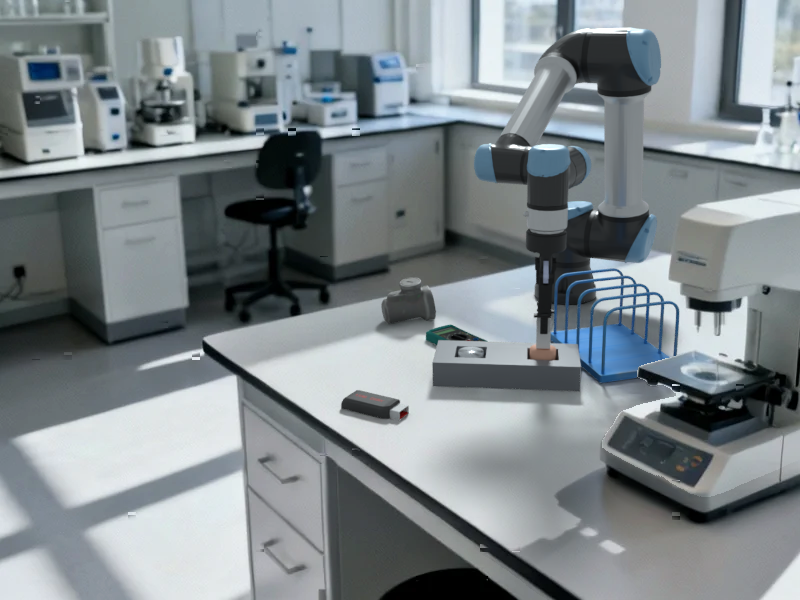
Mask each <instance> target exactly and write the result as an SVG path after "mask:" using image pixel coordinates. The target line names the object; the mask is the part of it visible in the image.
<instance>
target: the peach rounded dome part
mask: <svg viewBox="0 0 800 600" xmlns="http://www.w3.org/2000/svg"><path fill="white" fill-rule="evenodd" d="M530 360H556V348H555V347H554V346H552V345H550V349H536V344H535V345H532V346H531V347H530Z"/></svg>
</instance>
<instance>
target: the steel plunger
mask: <svg viewBox="0 0 800 600" xmlns="http://www.w3.org/2000/svg"><path fill="white" fill-rule="evenodd" d="M458 357H464V358H484V351H483V349H481V348H478V347H463V348H461V349H459V350H458Z"/></svg>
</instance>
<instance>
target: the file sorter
mask: <svg viewBox="0 0 800 600" xmlns="http://www.w3.org/2000/svg"><path fill="white" fill-rule="evenodd" d="M606 272H608V273H609V272H617V273H618V274H619V275H620V276H619V275H618V276H607V277H606V276H605V277H599V278H593V279H588V280H580V281H576V282H574V283H572V284H571V285H570V286H569V287H568V289H567V292H566V304H565V311H564V312H565V313H564V314H565V315H564V330H558V331H557V327H558V326H557V324H558V323H557V322H558V320H557V319H558V317H557V316H558V304H557V290H558V284H559V282H560V280H561V279H562V278H564V277H566V276H572V275H580V274H589V273H592V274H598V273H606ZM626 279H628V280H630V281H631V282H632V283H628V284H625V280H626ZM613 280H620V285H613V286H603V287H596V288H594V289H588V290H586V291H584V292H583V293H582V294H581V295H580V297H579V299H578V304H577V305H576V306H577V308H576V310H577V312H576V314H577V315H576V328H572V329H569V310H570V309H569V307H570V306H569V305H570V304H569V292H570V290H571V288H572V287H573V286H575V285H576V284H580V283H588V282H594V283H595V282H605V281H613ZM639 287H641V288H643V289H644V290H645V291H646V292H639V293H637V290H638V288H639ZM628 288H633V293H628V294H624V290H625V289H628ZM618 289H619V290H620V295H615V296H614V295H612V296H608V297H607V296H606V297H600V298H598V299H597V300H596V301H594V302H593V304H592V306H591V309H590V311H589V312H590V313H589V326H588V327H580V326H581V305H582V303H581V300H582V298H583V297H584V295H586V294H587V293H589V292H595V291H596V292H603V291H610V290H618ZM651 296H657V297H659V300H660V301H654V302H650V301H651ZM638 297H646V303H639V304H637V298H638ZM630 298H632V299H633V300H632V304H630V305H624V306H623V304H624V303H623V302H624V299H630ZM664 299H665V298H664V296H663V295H662V294H661V293H659V292H657V291H650V289H649V287H648V286H647V285H646V284H642V283H637V282H636V280H635V279H634V278H633V276H630V275H624V274H623V272H622V271H621V270H620V269H618V268H612V267H611V268H601V269H593V270H592V269H591V270H590V271H581V272H573V273H565V274H563V275H561V276H560V277H559V278H558V279H557V281H556V283H555V295H554V303H553V309H554V314H553V331H551V339H550V342H552V343H557V344H578V348H579V356H580V364H581V368H582V369H583V370H585V371H586V372H587V373H588V374H589V375H591V376H592V377H593V378H594V380H596V381H598V383H600V384H604V383H605V384H606V383H610V382H619V381H624V380H632V379H637V378H636V377H637V370H638V367H639V366H641V365H644V364H647V363H651V362H655V361H658V360H662V359H665V358H669V357H670V355H668V354H667V353H665V352H663V351H662V347H663V346H662V345H663V333H664V331H663V329H664V317H665V316H664V314H665V305H672V306H674V308H675V326H674V328H675V329H674V340H673V341H674V342H673V355H672V356H676V355H677V356H678V344H679V343H678V341H679V331H680V330H679V328H680V327H679V325H680V308H679V305H678V304H677V303H676V302H674V301H671V300H664ZM611 300H619V306H616V307H613V308H611V309H609V311H607V313H605V316H604V318H603V322H602V323H603V325H597V326H594V312H595V308H596V307H597V305H598V304H599V303H601V302H604V301H611ZM652 306H660V315H659V317H660V318H659V331H658V336H659V337H658V346H657V347H656V346H655V345H653V344H652V343H650V342H649V341H648V336H649V335H648V334H649V322H650V321H649V318H650V307H652ZM637 308H646V309H645V324H644V336H643V337H644V338H643V337H642V336H641V335H639V334H638V333H636V332H635V324H636V322H635V321H636V309H637ZM630 309H632V315H631V316H632V317H631V327H630V328H631V329H630V328H629V327H628V326H626V325H625V324H624V323H623V321H622V320H623V310H630ZM616 311H619V312H618V323H614V324H608V323H607V322H608V319H609V317H610V315H611V314H613V313H614V312H616Z"/></svg>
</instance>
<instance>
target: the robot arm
mask: <svg viewBox="0 0 800 600" xmlns="http://www.w3.org/2000/svg"><path fill="white" fill-rule="evenodd" d="M661 68H662V55H661V47H660V43H659V40H658V37H657V36H656V34H655V32H653V31H652V30H650V29H648V28H635V27H613V28H612V27H610V28H607V27H606V28H604V27H603V28H591V27H590V28H589V27H587V28H580V29H577V30H576V29H575V31H571V32H570V33H567V34H565V35H564V36H561V38H559V39H557V40H556V41H555V42H554V43H552V44H550V46H549V47H547V49H546V50H545V51H544V52H543V53H542V55H541V56H540V57H539V59H538V61H537V62H536V64H535V66H534V69H533V70H534V71H533V75H534V77H533V79H532V80H531V82H530V84H528V87H527V88H526V90H525V92H524V94H523V95H522V98H521V99H520V101H519V103H518V104H517V106H516V108H515V109H514V111H513V113H512V115H511V116H510V118H509V120H508V121H507V123H506V125H505V126H504V128H503V130H502V131H501V134H500V136H499V137H498V138H497V140H496V142H495V143H492V142H490V143H484V144H481V145H479V146H478V148H477V149H476V151H475V154H474V159H473V169H474V171H475V172H474V174H475V175H476V176H475V177H477V179H478V180H480V181H481V182H488V183H495V184H504V185H505V184H507V185H522V186H526V189H527V190H526V191H527V193H526V194H527V195H526V196H527V197H526V206H527V207H526V210H527V211H523V214H522V215H523V217H526V227H527V228H528V229H527V230H526V232H525V248H526V250H527V251H529V252H531V253H534V254H535V253H536V254H539V256H537V257H534V270H535V284H534V292H533V293H534V297H536V298H537V303H536V306H537V309H536V312H537V313H536V312H535V313H533V318H534V319H535V318H536V333H535V334H536V336H535V340H536V341H535V343H536V349H550V343H551V340H550V339H551V332H552V330H551V329H552V315H554V308H553V309H552V304H554V295H555V283H556V281H557V279H558V278H559V277H560V276H561V275H563V274H565V273H573V272H581V271H590V270H592V269H591V259H596V260H605V261H613V262H621V263H624V264H627V263H631V264H632V263H633V264H635V263H636V264H640V263H643V262H644V261H646V260H647V258H648V257H649V255H650V253H651V250H652V248H653V245H654V241H655V237H656V233H657V226H658V220H657V218H658V217H657V216H656V215H655V214H653V213H651V214H650V205H649V204H648V202H646V201H645V200H644V199H643V184H644V183H643V181H644V180H643V178H644V173H643V172H644V132H645V131H644V127H645V126H644V125H645V124H644V121H645V98H646V97H647V96H648V95H649V94H651V92H652V86H654V85H656V84H657V83H658V82H659V80H660V76H661ZM584 83H587V84H596V86H597V91H596V93H597V95H598V96H599V97H600V98H601V99H602V100H603V103H604V105H603V106H604V108H603V111H604V113H603V116H604V117H603V118H604V120H603V121H604V124H603V125H604V127H603V128H604V132H603V133H604V136H603V137H604V139H603V140H604V142H603V143H604V199H603V201H602V202H601V203H599V204H598V206H597V209H594V205H593V203H592V202H591V201H585V200H584V201H582V200H576V201H569V190H570V189H573V188H574V187H577V186H578V185H581V184H582V183H583V181H584V180H586V179H587V178H588V177H589V175H590V173H591V169H592V160H591V157H590V155H589V153H588V152H587V151H586V150H585V149H584V148H582V147H580V146H577V145H570V146H569V145H568V146H567V145H566V146H565V145H563V144H557V143H556V144H555V143H546V144H545V143H543V144H538V143H539V142H540V140H541V138H542V136H543V134H544V132H545V131H546V128H547V127H548V125H549V123H550V121H551V120H552V118H553V116H554V115H555V112H556V111H557V109H558V107H559V105H560V104H561V102H562V100H563V98H564V96H565V94H568V93H569V92H570V91H572V90H573V89H574V87H575V86H576V85H577V84H584ZM588 279H594V276H593V273H589V274H580V275H572V276H566V277H564V278H562V279H561V280H560V282H559V284H558V290H557V305H558V304H561V305H566V292H567V289H568V287H569V286H570V285H571V284H572V283H574V282H576V281H580V280H588ZM594 288H597V285H596V283H595V282H588V283H580V284H576V285H575V286H573V287H572V288H571V290H570V292H569V305H576V304H577V305H578V299H579V297H580V295H581V294H582V293H583V292H584V291H586V290H588V289H594ZM596 295H597V291H595V292H589V293H587V294H586V295H584V297H583V298H582V300H581V304H584V303H588V302H592V301H593V300H594V299H596V297H597V296H596Z"/></svg>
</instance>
